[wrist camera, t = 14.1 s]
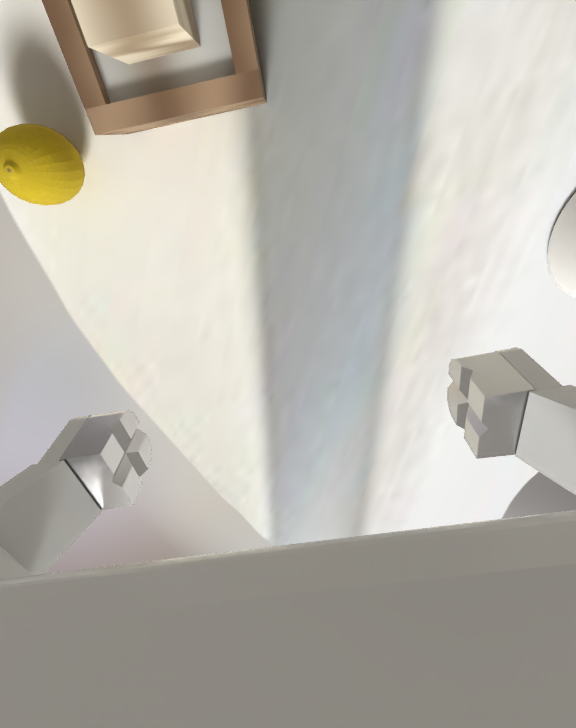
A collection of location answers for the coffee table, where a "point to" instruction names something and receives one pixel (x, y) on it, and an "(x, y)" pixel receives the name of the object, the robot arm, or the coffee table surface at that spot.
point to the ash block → (137, 27)
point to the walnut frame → (165, 71)
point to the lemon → (39, 164)
